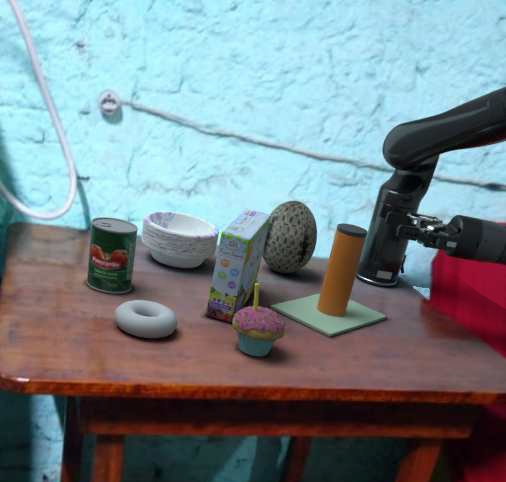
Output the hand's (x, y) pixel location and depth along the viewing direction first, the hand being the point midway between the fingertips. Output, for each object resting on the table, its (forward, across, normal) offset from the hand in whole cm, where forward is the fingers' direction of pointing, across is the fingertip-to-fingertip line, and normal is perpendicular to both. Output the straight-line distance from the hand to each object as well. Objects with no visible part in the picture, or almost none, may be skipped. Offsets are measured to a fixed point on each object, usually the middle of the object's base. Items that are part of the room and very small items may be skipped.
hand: (392, 224), depth 134 cm
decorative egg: (+14, -21, +19) cm, 32 cm away
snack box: (+26, +2, +19) cm, 32 cm away
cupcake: (+24, +23, +19) cm, 38 cm away
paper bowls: (+37, -17, +19) cm, 45 cm away
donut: (+42, +21, +19) cm, 50 cm away
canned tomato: (+49, +4, +19) cm, 52 cm away
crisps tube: (+7, 0, +18) cm, 19 cm away
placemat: (+7, 0, +19) cm, 20 cm away
